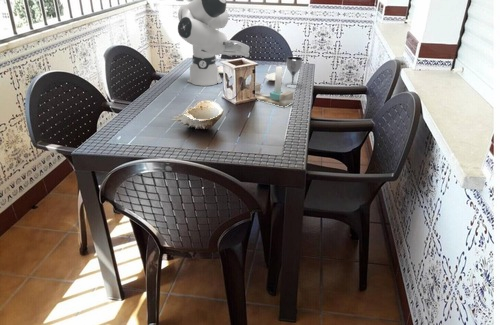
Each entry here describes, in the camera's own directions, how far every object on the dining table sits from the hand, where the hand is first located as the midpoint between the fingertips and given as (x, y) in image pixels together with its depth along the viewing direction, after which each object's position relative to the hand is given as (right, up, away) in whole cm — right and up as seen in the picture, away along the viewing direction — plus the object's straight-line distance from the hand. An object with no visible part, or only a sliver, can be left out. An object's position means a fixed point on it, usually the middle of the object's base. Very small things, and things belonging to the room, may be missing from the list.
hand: (239, 54), depth 165 cm
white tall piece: (+17, -14, +25) cm, 33 cm away
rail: (+13, -14, +29) cm, 35 cm away
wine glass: (+27, -3, +51) cm, 58 cm away
